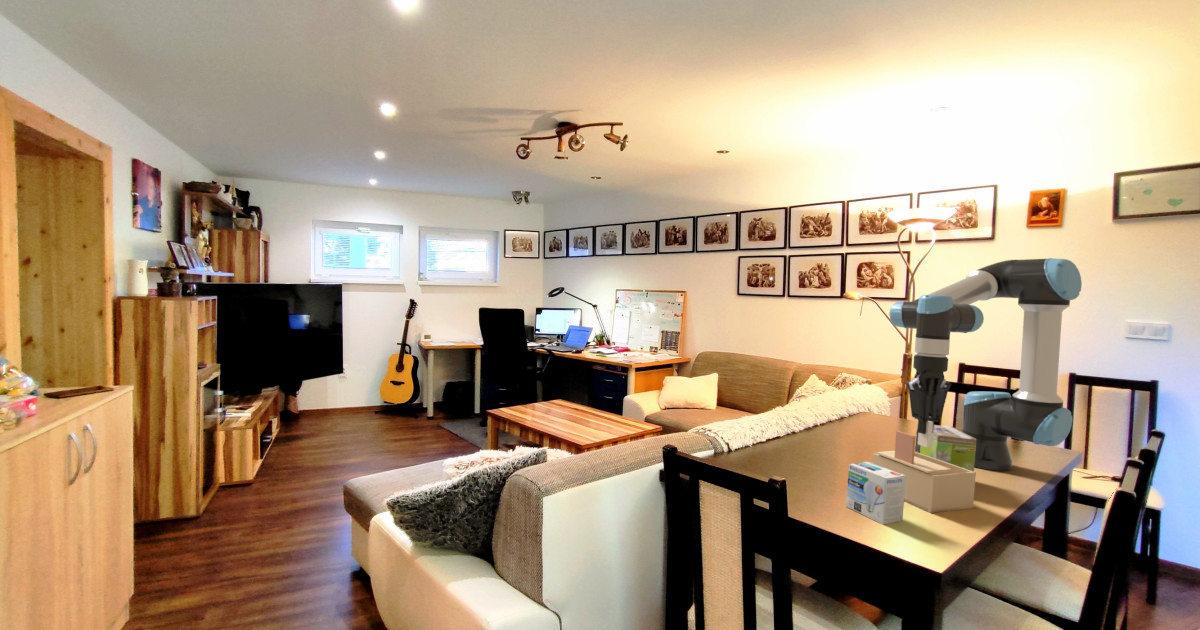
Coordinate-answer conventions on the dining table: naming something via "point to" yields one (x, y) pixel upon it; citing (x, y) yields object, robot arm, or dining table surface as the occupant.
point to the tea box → (950, 447)
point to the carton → (934, 485)
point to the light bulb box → (876, 492)
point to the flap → (910, 454)
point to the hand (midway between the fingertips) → (924, 445)
